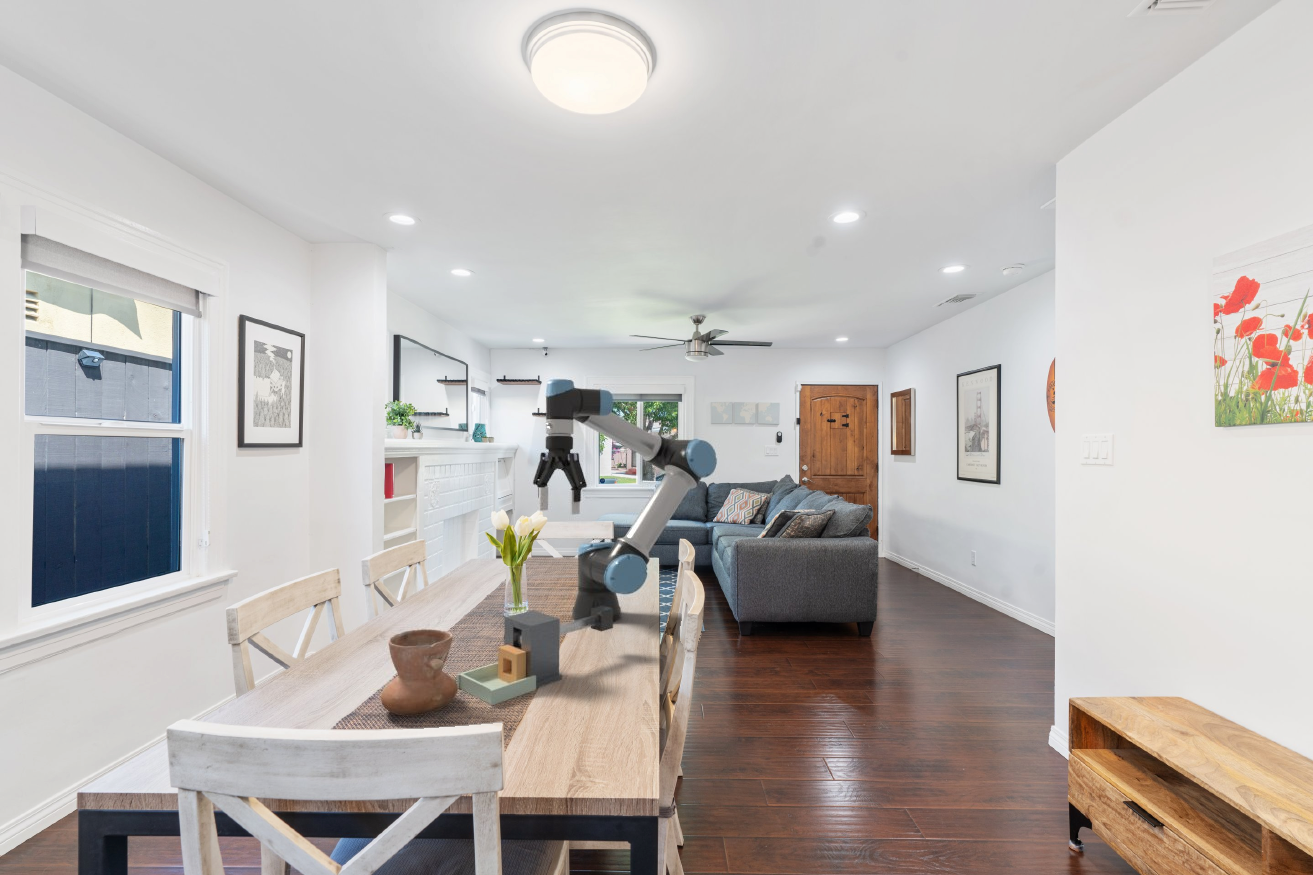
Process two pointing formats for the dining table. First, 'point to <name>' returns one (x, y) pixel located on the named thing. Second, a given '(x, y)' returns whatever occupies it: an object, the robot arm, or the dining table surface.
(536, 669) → the bearing block
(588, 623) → the shaft
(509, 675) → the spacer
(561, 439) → the robot arm
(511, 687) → the tray
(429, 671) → the ceramic jug
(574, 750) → the dining table surface
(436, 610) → the dining table surface
